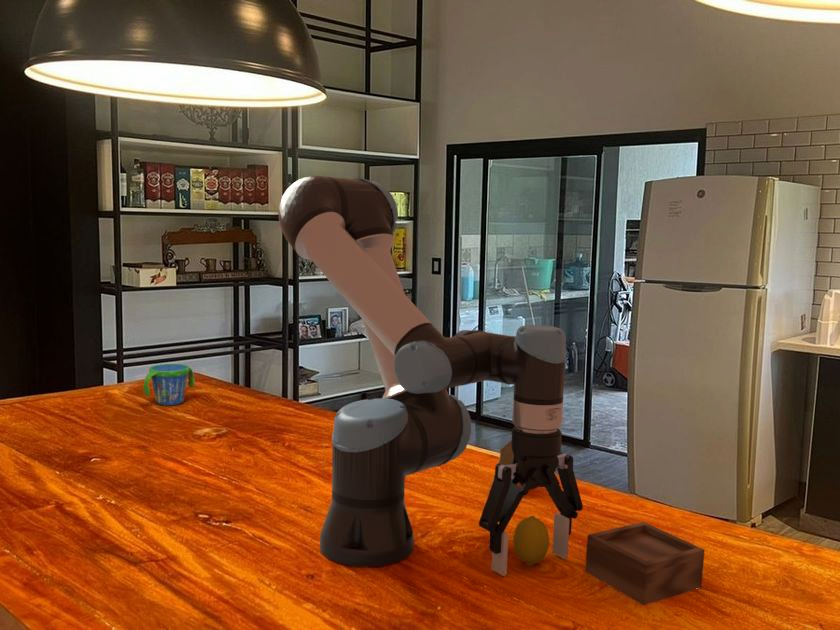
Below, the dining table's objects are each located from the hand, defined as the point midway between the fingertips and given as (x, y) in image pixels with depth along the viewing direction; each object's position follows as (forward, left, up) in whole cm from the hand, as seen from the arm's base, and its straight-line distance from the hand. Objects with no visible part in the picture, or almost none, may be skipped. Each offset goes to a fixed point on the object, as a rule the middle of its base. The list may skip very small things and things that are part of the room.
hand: (530, 563), depth 123 cm
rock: (+19, +31, -1) cm, 36 cm away
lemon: (0, 0, -1) cm, 1 cm away
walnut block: (+12, -12, -1) cm, 17 cm away
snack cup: (-20, +129, -1) cm, 131 cm away
